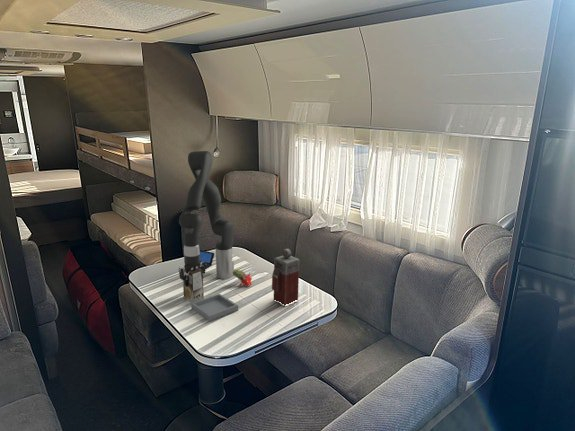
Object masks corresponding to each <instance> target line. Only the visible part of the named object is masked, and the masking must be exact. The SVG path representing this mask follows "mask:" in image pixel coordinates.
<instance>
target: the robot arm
mask: <svg viewBox="0 0 575 431" xmlns="http://www.w3.org/2000/svg"><path fill="white" fill-rule="evenodd" d="M213 159H214V158H213V155H212V153H211V152H210V151H208V150H200V151H199V150H198V151H197V150H196V151H190V152H189V153H188V155H187V163H188V166H189V168H190V171H191V173H192V174H193V177H194V179H195V181H194V182H193V183H192V185H191V186H190V187H189V189H188V192H187V197H186V202H185V205H184V207H183V209H182V212H181V213H180V215H179V219H178V223H179V225H180V227H181V228H183V229H192V231H187V232H185V233H183V257H184V258H183V260H184V263H183V264H184V265H183V267H178V273H179V274H178V275H179V279H180V280H182V281H183V280H184V285H185V286H186V287H188V278H189V277H188V276H189V273H190V272H192V271H194V270H199V267H200V266H201V269H200V270H203V275H205V274H206V269H205V268H206V263H205V262H203V261H202V262H200V250H201V249H200V240H199V238H200V237H199V236H200V230H201V227H202V223H203V219H202V216H201V215H200V214H199V213H192V212H195V211H198V210H200V209H201V208H202V202H203V203H204V206H205V209H206V212H207V215H208V218H209V222H210V226H211V227H210V228H211V230H212V232H213V234H214V235H216V236H219V237H221V240H218V241H217V242H216V243H215V271H216V273H215V274H216V278H218V279H220V280H227V279H230V278H232V277H233V276H234V274H233V272H234V270H235V261H234V259H233V244H234V236H235V235H234V234H235V228H234V227H235V226H234V223H233V222H232V221H229V220H227V219H223V218H222V217H221V214H220V208H221V203H222V196H221V194H220V190H219V188H218V187H217V185H216V184H215V183H214V182H213V181H212V180H211V179H210V178H209V175H210V173H211V170H212V167H213V166H212V165H213V162H214V161H213ZM184 270H186V271H187V272H189V273H188V274H187V273H186V272H185V273H184ZM186 275H187V276H186Z"/></svg>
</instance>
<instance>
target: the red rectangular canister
mask: <svg viewBox="0 0 575 431" xmlns="http://www.w3.org/2000/svg"><path fill="white" fill-rule="evenodd" d="M299 275H300V259H299V258H298V257H295V256H292V251H291V249H290V248H284V249H283V250H282V255H280V256H276V257H274V262H273V271H272V276H271V289H272V290H273V301H274V300H276V301H279V302H281V303H282V304H284V305H286V304H289V303H291V302H293V301H295V300H298V301H299V284H300V283H299V280H300V279H299V278H300V276H299Z"/></svg>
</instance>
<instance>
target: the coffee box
mask: <svg viewBox="0 0 575 431" xmlns="http://www.w3.org/2000/svg"><path fill="white" fill-rule="evenodd" d="M185 272H186V273H187V274H188V273H189V272H187V271H186V270H184V273H185ZM186 276H187V275H186ZM188 277H189V278H188V287H186V286H185V285H184V280H182V288H183V299H184V300H186V301H188V302H190V304H191V303H194V302H196V301H199V300H202V299H205V297H204V274H203V270H201V269H199V270H194V271H192V272H190V273H189V276H188Z"/></svg>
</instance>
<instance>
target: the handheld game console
mask: <svg viewBox="0 0 575 431" xmlns="http://www.w3.org/2000/svg"><path fill="white" fill-rule="evenodd" d="M214 258H215V253H214V252H212V251H207V250H201V249H200V262H202V261H203V262H205V263H206V268H205V270H207V269H209V268H211V267H212V266H213V261H214ZM199 269H200V270H201V266H200V267H199Z"/></svg>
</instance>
